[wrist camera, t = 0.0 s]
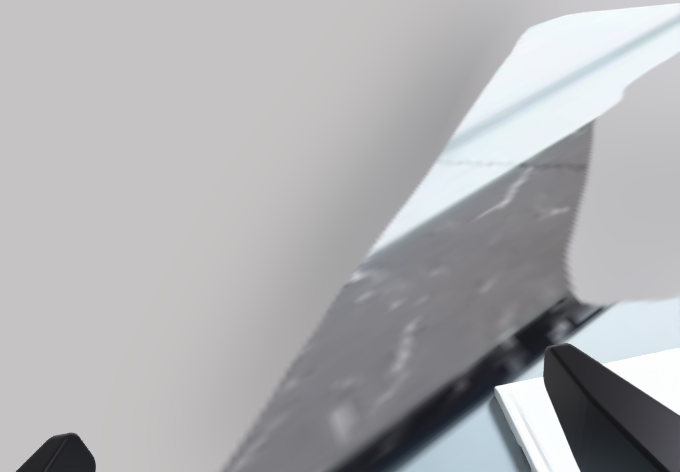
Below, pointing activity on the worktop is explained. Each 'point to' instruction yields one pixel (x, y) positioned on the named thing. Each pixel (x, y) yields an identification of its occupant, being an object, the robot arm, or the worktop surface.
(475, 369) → the worktop surface
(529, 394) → the external hard drive
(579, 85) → the worktop surface
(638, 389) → the robot arm
